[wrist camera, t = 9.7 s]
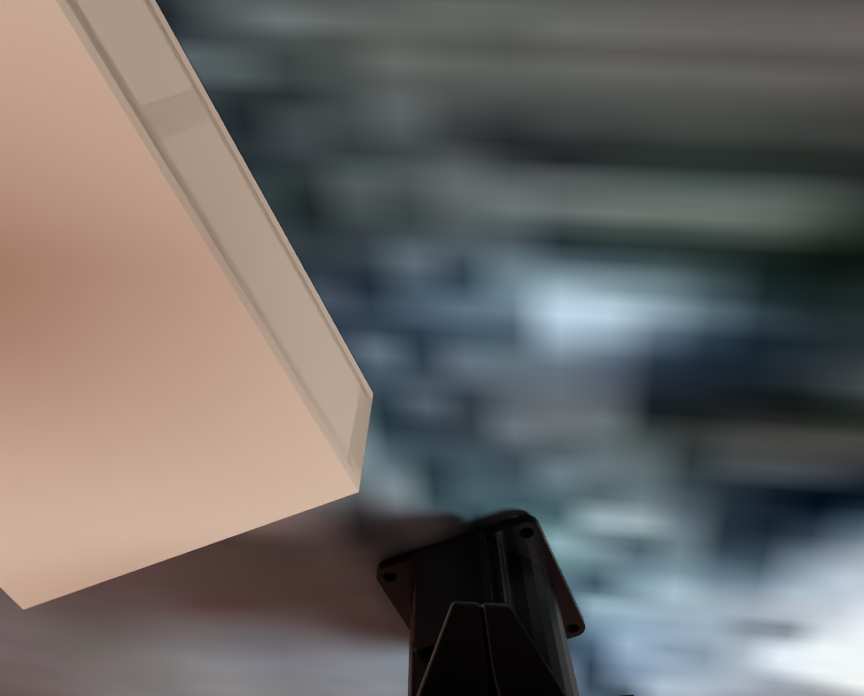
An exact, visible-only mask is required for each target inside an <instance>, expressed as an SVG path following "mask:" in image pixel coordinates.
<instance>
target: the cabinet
mask: <svg viewBox="0 0 864 696" xmlns="http://www.w3.org/2000/svg"><path fill="white" fill-rule="evenodd" d="M372 398H373V393H372V391H371V389H370V387H369V385H368V384H367V382H366V380H365V378H364V376H363V375H362V373H361V371H360V369H359V367H358V365H357V364H356V362H355V360H354V358H353V356H352V355H351V353H350V351H349V349H348V347H347V346H346V344H345V342H344V340H343V338H342V337H341V335H340V333H339V331H338V329H337V328H336V326H335V324H334V322H333V320H332V319H331V317H330V315H329V313H328V311H327V310H326V308H325V306H324V304H323V302H322V301H321V299H320V297H319V295H318V293H317V291H316V290H315V288H314V286H313V284H312V282H311V281H310V279H309V277H308V275H307V273H306V272H305V270H304V268H303V266H302V264H301V263H300V261H299V259H298V257H297V255H296V254H295V252H294V250H293V248H292V246H291V245H290V243H289V241H288V239H287V237H286V236H285V234H284V232H283V230H282V228H281V227H280V225H279V223H278V221H277V219H276V217H275V216H274V214H273V212H272V210H271V208H270V207H269V205H268V203H267V201H266V199H265V198H264V196H263V194H262V192H261V190H260V189H259V187H258V185H257V183H256V181H255V180H254V178H253V176H252V174H251V172H250V171H249V169H248V167H247V165H246V163H245V162H244V160H243V158H242V156H241V154H240V153H239V151H238V149H237V147H236V145H235V143H234V142H233V140H232V138H231V136H230V134H229V133H228V131H227V129H226V127H225V125H224V124H223V122H222V120H221V118H220V116H219V115H218V113H217V111H216V109H215V107H214V106H213V104H212V102H211V100H210V98H209V97H208V95H207V93H206V91H205V89H204V88H203V86H202V84H201V82H200V80H199V79H198V77H197V75H196V73H195V71H194V69H193V68H192V66H191V64H190V62H189V60H188V59H187V57H186V55H185V53H184V51H183V50H182V48H181V46H180V44H179V42H178V41H177V39H176V37H175V35H174V33H173V32H172V30H171V28H170V26H169V24H168V23H167V21H166V19H165V17H164V15H163V14H162V12H161V10H160V8H159V6H158V5H157V3H156V1H155V0H0V587H1V588H2V589H3V590H4V591H5V592H6V593H7V594H8V595H9V596H10V597H11V598H12V599H13V600H14V601H15V602H16V603H17V604H18V605H19V606H20V607H21V608H22V609H23V610H24V609H27V608H30V607H33V606H36V605H38V604H41V603H44V602H47V601H50V600H53V599H56V598H58V597H61V596H64V595H67V594H70V593H73V592H76V591H78V590H81V589H84V588H87V587H90V586H93V585H95V584H98V583H101V582H104V581H107V580H110V579H113V578H115V577H118V576H121V575H124V574H127V573H130V572H133V571H135V570H138V569H141V568H144V567H147V566H150V565H152V564H155V563H158V562H161V561H164V560H167V559H170V558H172V557H175V556H178V555H181V554H184V553H187V552H190V551H192V550H195V549H198V548H201V547H204V546H207V545H209V544H212V543H215V542H218V541H221V540H224V539H227V538H229V537H232V536H235V535H238V534H241V533H244V532H247V531H249V530H252V529H255V528H258V527H261V526H264V525H266V524H269V523H272V522H275V521H278V520H281V519H284V518H286V517H289V516H292V515H295V514H298V513H301V512H303V511H306V510H309V509H312V508H315V507H318V506H321V505H323V504H326V503H329V502H332V501H335V500H338V499H341V498H343V497H346V496H349V495H352V494H355V493H358V492H359V486H360V479H361V473H362V466H363V459H364V452H365V446H366V439H367V432H368V425H369V418H370V412H371V405H372Z"/></svg>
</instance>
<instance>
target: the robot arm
mask: <svg viewBox="0 0 864 696" xmlns="http://www.w3.org/2000/svg"><path fill="white" fill-rule="evenodd" d="M527 527H528V528H530V529H528V530H521V529H523V528H527ZM387 572H392V574H389V573H387ZM377 580H378V582H379V583H380V585H381V586H382V588H383V589H384V591H385V593H386V594H387V596H388V597H389V599H390V600H391V602H392V603H393V605H394V606H395V608H396V609H397V611H398V612H399V614H400V616H401V617H402V619H403V620H404V622H405V623H406V625H407V626H408V628H409V629H410V643H409V676H408V696H579V692H578V687H577V683H576V678H575V674H574V669H573V665H572V660H571V655H570V651H569V646H568V642H567V639H569V638H572V637H576V636H578V635H581V634H582V633H583V632H584V630H585V624H584V620H583V616H582V614H581V612H580V610H579V608H578V606H577V604H576V601H575V599H574V597H573V595H572V593H571V591H570V589H569V586H568V584H567V582H566V580H565V578H564V576H563V574H562V571H561V569H560V567H559V565H558V563H557V561H556V559H555V556H554V554H553V552H552V550H551V548H550V546H549V544H548V541H547V539H546V537H545V535H544V533H543V531H542V529H541V526H540V524H539V522H538V520H537V519H536V518H535V517H533V516H531V515H521V516H518V517H515V518H512V519H509V520H506V521H503V522H499V523H496V524H493V525H490V526H487V527H484V528H481V529H478V530H475V531H472V532H469V533H466V534H463V535H460V536H457V537H454V538H451V539H448V540H445V541H441V542H438V543H435V544H432V545H429V546H426V547H423V548H420V549H417V550H414V551H411V552H408V553H405V554H402V555H399V556H396V557H393V558H390V559H387V560H384V561H382V562H380V564H379V565H378V568H377ZM622 696H634V695H622Z"/></svg>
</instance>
